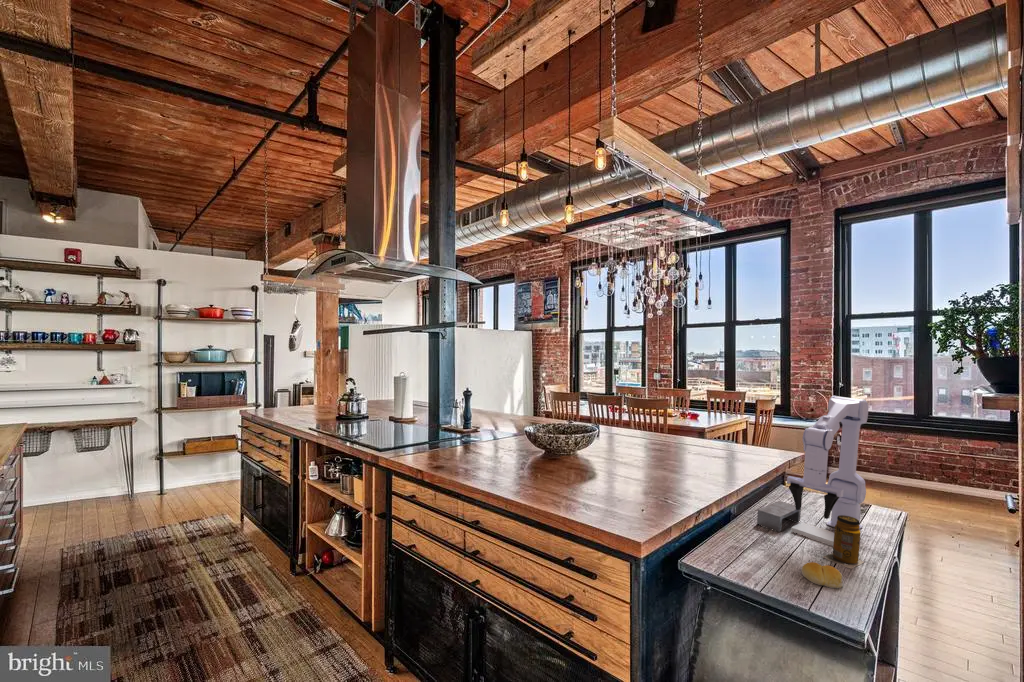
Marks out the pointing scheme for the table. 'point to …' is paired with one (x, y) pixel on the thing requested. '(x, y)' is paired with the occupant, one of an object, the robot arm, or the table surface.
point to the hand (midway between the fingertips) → (812, 513)
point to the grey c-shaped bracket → (777, 515)
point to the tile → (814, 533)
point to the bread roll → (822, 575)
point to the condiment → (846, 542)
